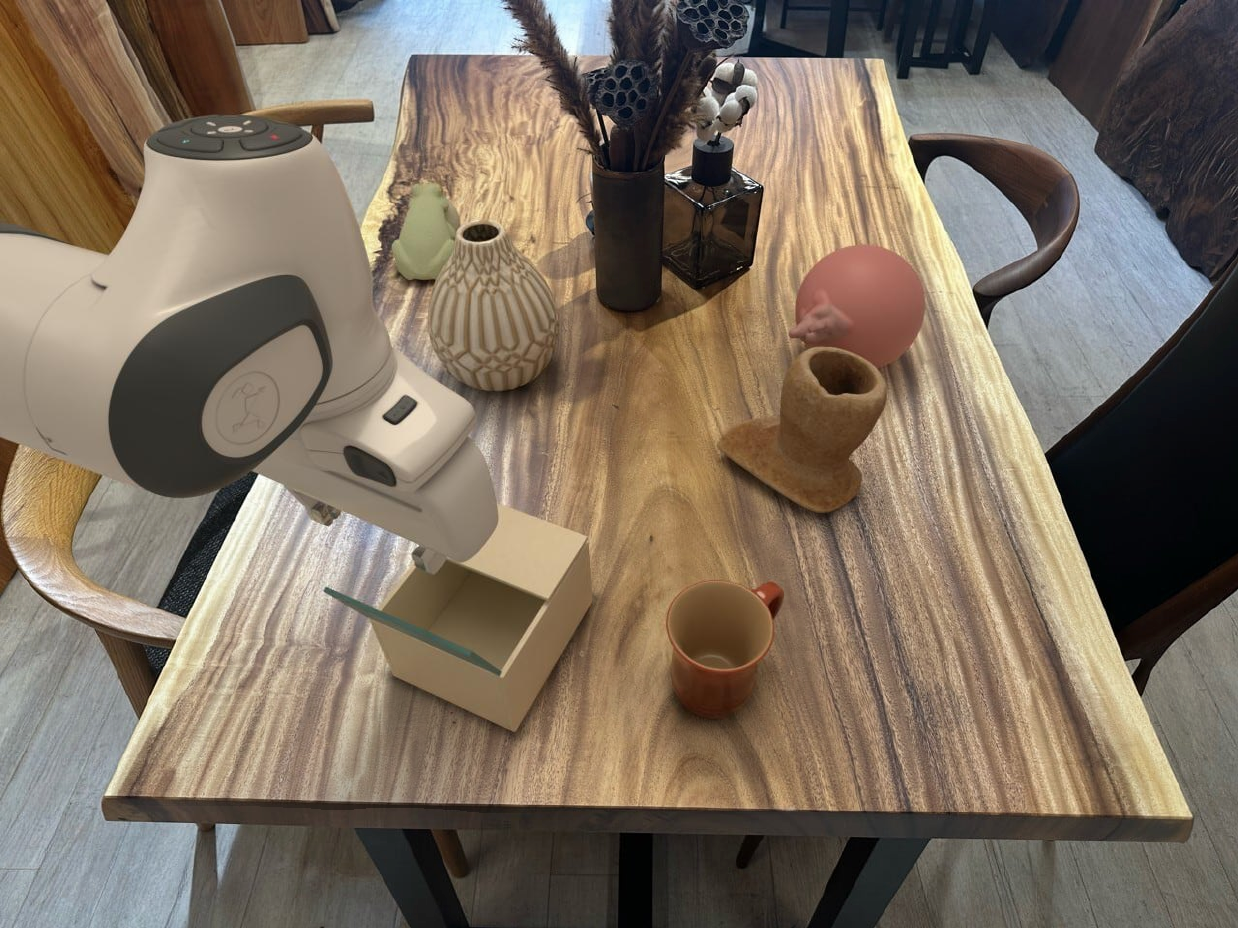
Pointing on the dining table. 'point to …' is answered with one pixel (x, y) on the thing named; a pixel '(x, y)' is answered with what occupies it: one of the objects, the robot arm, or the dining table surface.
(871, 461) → the dining table surface
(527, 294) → the vase
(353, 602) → the flap
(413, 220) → the figurine
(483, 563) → the carton
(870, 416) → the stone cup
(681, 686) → the mug
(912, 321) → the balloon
